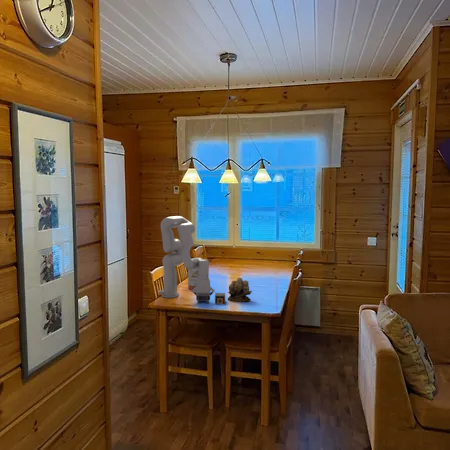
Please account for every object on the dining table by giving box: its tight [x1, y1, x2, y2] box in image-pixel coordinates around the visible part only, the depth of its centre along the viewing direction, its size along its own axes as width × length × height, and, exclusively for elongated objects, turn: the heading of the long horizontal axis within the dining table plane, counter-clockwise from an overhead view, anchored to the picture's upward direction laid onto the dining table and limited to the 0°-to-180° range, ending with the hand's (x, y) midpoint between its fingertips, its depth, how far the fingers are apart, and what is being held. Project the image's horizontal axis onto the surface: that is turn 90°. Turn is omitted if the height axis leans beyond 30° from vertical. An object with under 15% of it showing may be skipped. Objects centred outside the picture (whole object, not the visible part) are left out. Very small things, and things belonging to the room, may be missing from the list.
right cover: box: [214, 292, 226, 305], centre depth 292 cm, size 7×7×6 cm
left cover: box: [197, 293, 209, 304], centre depth 292 cm, size 7×7×6 cm
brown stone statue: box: [227, 277, 253, 303], centre depth 298 cm, size 18×12×17 cm, turn 75°
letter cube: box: [216, 297, 224, 305], centre depth 291 cm, size 4×4×4 cm
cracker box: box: [187, 268, 198, 290], centre depth 330 cm, size 14×6×21 cm, turn 101°
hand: (203, 300), depth 292 cm, fingers closed on left cover, 7 cm apart
